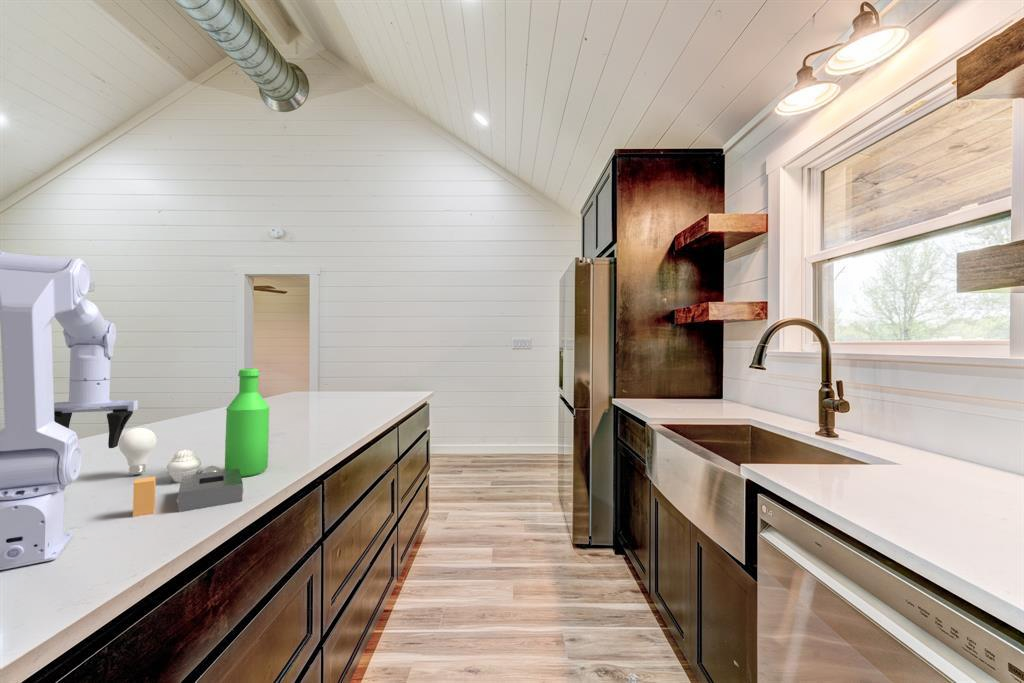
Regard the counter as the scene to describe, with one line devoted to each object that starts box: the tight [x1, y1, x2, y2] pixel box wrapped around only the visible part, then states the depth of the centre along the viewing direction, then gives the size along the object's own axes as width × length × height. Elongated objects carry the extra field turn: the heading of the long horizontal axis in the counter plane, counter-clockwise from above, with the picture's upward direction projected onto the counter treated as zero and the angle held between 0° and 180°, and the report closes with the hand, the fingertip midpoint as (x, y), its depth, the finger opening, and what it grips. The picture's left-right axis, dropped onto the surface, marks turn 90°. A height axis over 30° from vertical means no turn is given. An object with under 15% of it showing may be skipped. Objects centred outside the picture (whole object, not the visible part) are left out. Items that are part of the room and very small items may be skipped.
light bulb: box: [118, 427, 157, 476], centre depth 98 cm, size 7×7×11 cm
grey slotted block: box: [176, 465, 244, 513], centre depth 87 cm, size 17×11×4 cm, turn 36°
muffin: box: [166, 448, 202, 483], centre depth 95 cm, size 6×6×7 cm
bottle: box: [224, 368, 270, 478], centre depth 102 cm, size 9×9×25 cm
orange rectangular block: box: [132, 476, 157, 518], centre depth 77 cm, size 3×3×6 cm
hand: (88, 448), depth 83 cm, fingers open, 7 cm apart
